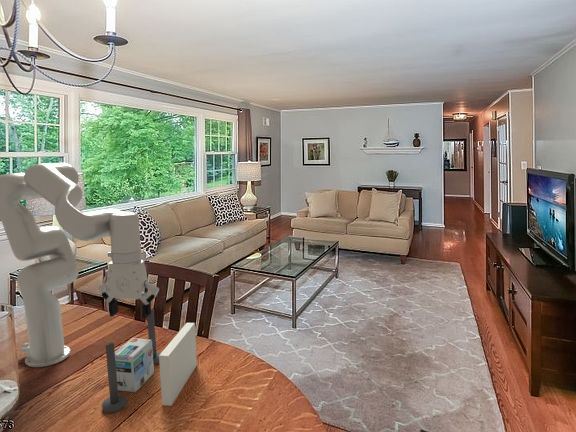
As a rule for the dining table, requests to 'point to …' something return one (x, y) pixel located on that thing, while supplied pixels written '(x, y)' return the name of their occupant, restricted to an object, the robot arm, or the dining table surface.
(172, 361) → the breaker panel
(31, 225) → the robot arm
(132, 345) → the light bulb box
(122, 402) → the post
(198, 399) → the dining table surface
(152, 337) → the cord post
